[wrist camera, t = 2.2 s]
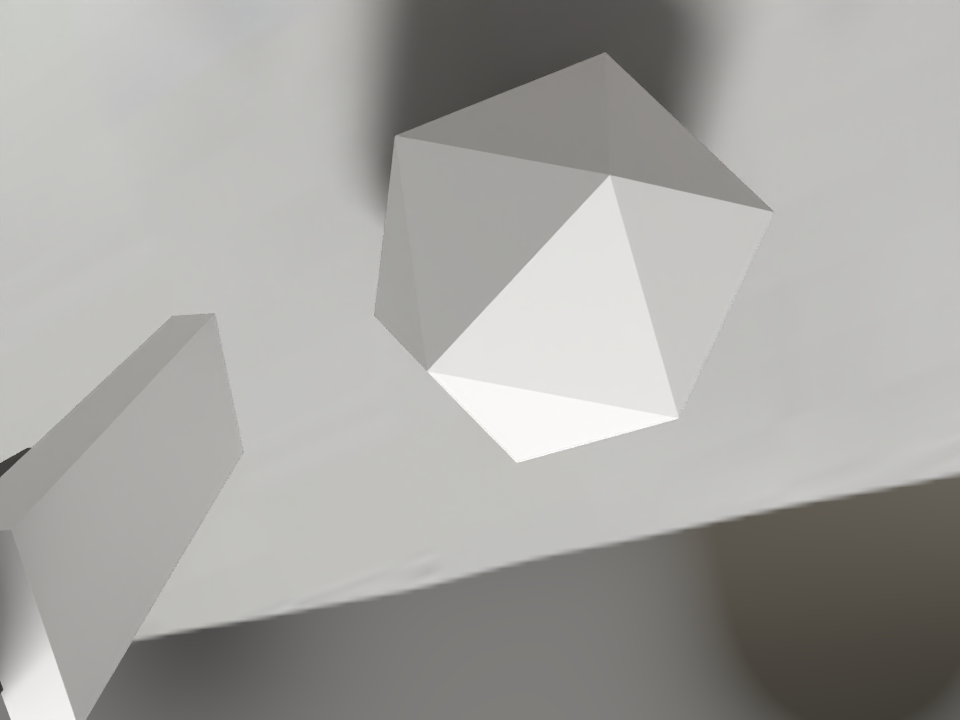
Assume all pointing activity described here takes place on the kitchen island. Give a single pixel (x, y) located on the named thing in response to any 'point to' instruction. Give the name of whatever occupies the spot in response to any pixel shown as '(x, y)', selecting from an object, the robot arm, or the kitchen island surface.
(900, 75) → the kitchen island surface
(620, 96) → the die
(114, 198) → the kitchen island surface
